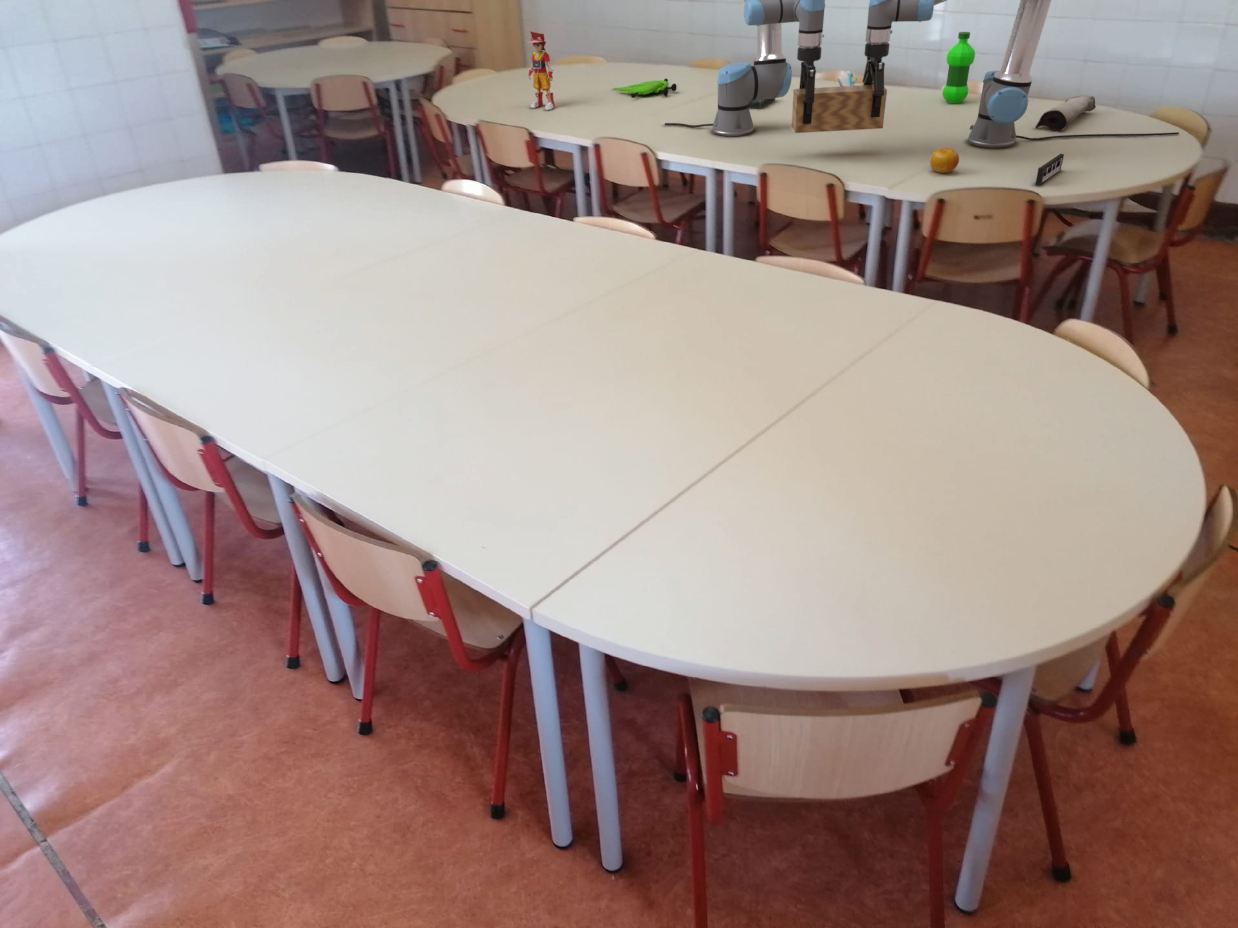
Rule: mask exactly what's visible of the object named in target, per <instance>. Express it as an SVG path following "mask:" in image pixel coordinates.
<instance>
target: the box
mask: <svg viewBox="0 0 1238 928" xmlns="http://www.w3.org/2000/svg"><path fill="white" fill-rule="evenodd" d="M859 85H860V86H859ZM859 85H855V86H842V87H841V86H827V87H824V86H823V87H815V92H814V103H813V105H812V120H811V124H803V111H804V104H803V101H805V89H799V88H794V89H793V93H792V110H791V111H792V113H791V128H792V130H793V132H794V133H795V134H803V133H804V134H805V133H822V132H839V131H840V132H842V131H843V132H844V131H859V130H860V131H861V130H876V129H879V130H881V129H883V128H884V121H885V114H886V113H885V111H886V103H887V96H888V95H887V93H888V89H887V88H886V87H885V86H884V95H883V96H882V99H881V108H880V117H872V118H871V109H872V100H873V97H872V94H874V88H873V85H861V84H859ZM809 99H811V98H809Z"/></svg>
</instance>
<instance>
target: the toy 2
mask: <svg viewBox="0 0 1238 928" xmlns="http://www.w3.org/2000/svg"><path fill="white" fill-rule="evenodd" d="M669 85H670V83H669V79H668V78H664V79H663V80H649V81H644V82H640V83H634V84H629V85H627V86H621V87H613V88H612V89H613V90H616V91H619V92H623V93H627V94H628V93H629V94H631V95H630V96H631V98H632V99H634V98H636V96H637V95H650V94H652V93H654V94H658V93H662V95H663V96H665V97H667V96H668V95H669V90H671V91H672V92H676V91H677V84H676V83H672V84H671V86H669Z"/></svg>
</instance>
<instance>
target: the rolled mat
mask: <svg viewBox="0 0 1238 928" xmlns="http://www.w3.org/2000/svg"><path fill="white" fill-rule="evenodd" d="M1096 107H1097V106H1096V98H1095V96H1094V95H1085V94H1084V95H1077V96H1071V97H1068V98H1066V99H1065V101H1064V102H1062V103H1060V104H1059V105H1056V106H1054V107H1052V108H1051V109H1049V110H1047V111H1045V112H1044V113H1043V114H1042V115H1041V116H1040V118H1039V120H1038V122H1037V124H1036V125H1035V129H1038V128H1041V127H1046V128H1048V130H1052V131H1056V132H1057V131H1058V132H1062V131H1063V130H1065V129H1066V128H1067V127H1068V126H1069V125H1070V124H1071V123H1072V122H1073V120H1075V119H1076V118H1077V117H1079V116H1080V115H1081V114H1082V113H1087V112H1092V111H1094V110H1095V109H1096Z"/></svg>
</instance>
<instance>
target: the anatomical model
mask: <svg viewBox="0 0 1238 928" xmlns="http://www.w3.org/2000/svg"><path fill="white" fill-rule="evenodd" d="M857 80H858V78H854V74H853V72H851V71H850V70H845V73H844V74H843V75H840V76H838V77H837V82H838V84H839V87H842V86H856V85H855V83H856V81H857ZM860 85H864V83H861V84H859V85H858V86H860Z"/></svg>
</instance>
